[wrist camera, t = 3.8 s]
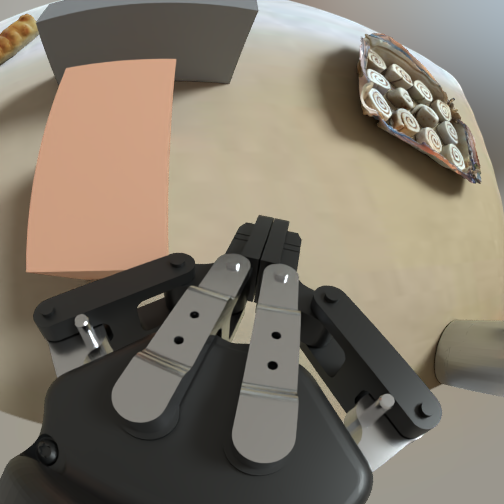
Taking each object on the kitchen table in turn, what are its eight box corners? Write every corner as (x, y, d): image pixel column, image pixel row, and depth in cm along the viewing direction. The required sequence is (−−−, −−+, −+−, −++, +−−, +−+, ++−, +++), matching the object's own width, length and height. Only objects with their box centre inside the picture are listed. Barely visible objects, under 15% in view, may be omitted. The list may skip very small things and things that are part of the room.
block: (170, 138, 22) (176, 58, 13) (169, 277, 21) (166, 268, 12) (95, 141, 20) (66, 68, 11) (85, 279, 19) (26, 272, 10)
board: (228, 64, 25) (255, -6, 15) (229, 83, 25) (258, 10, 15) (68, 70, 20) (49, 4, 10) (60, 90, 20) (35, 22, 10)
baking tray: (451, 106, 39) (469, 95, 34) (475, 205, 36) (499, 197, 30) (328, 32, 31) (345, 10, 26) (340, 139, 28) (370, 115, 22)
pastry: (-6, 79, 17) (-16, 62, 13) (-21, 69, 16) (-30, 54, 12) (46, 31, 19) (40, 12, 16) (25, 26, 18) (20, 9, 14)
